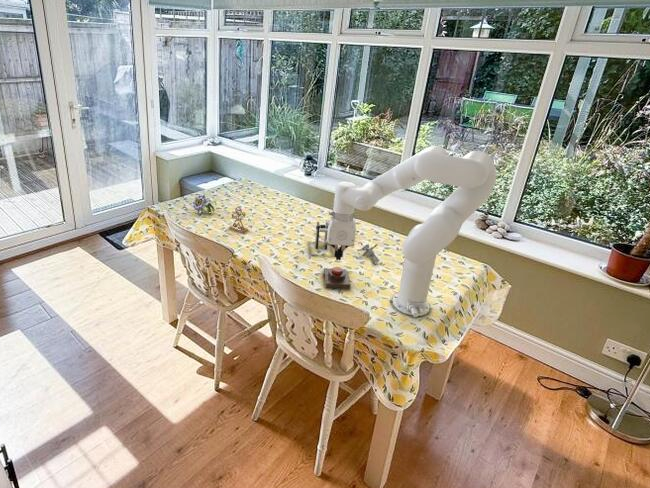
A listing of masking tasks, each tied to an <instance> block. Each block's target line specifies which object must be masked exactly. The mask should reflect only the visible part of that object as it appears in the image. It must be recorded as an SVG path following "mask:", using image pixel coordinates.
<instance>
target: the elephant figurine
mask: <svg viewBox="0 0 650 488" xmlns="http://www.w3.org/2000/svg"><path fill="white" fill-rule="evenodd" d="M378 245H379V244H378V243H376V244H375V245H374V246H372V247H370V244H369V243H367V244H366V245H363V247H361V249H360V250H361V251H362V252H363V253H362V254H361V256H365V255H366V256H367V258H369V259H370V260H371V262H373V264H374V265H377V264H378V263H377V262H380V261H381V259H379V258H378V256H377V255H376V254H375V252H374V251H373V250H374V249H375V248H376V247H377V246H378Z"/></svg>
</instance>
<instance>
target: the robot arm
mask: <svg viewBox="0 0 650 488" xmlns="http://www.w3.org/2000/svg"><path fill="white" fill-rule="evenodd" d="M425 180H426V181H429V182H433V183H438V184H444V185H448V186H454V187H457V188H455V189H454V190H453V192H452V193H451V194H450V195H449V196H447V197H446V198H445V199H444V200H443V201H442V202H441V203H440V204H439V205H438V206H436V207H435V208H434V209H433V210H432V211H431V212H430V214H429V215H428V218H427V219H426V220H425V221H424V222H423V223H419V224H416V225H415V226H413V228H412V229H410V231H409V233H408V234H407V236H406V238H405V240H404V241H403V243H402V246H401V251H402V252H401V253H402V255H403V257H404V259H403V266H402V271H401V277H400V282H399V287H398V293H396V294H394V296H393V297H392V305H393V306H394V307H395V309H396V310H398V311H399V312H401V313H403V314H405V315H409V316H413V318H417V317H421V316H425V315H427V314H428V313H429V312H430V307H431V305H430V304H429V302H428V301H427V300H428V295H429V290H430V285H431V282H432V276H433V272H434V268H435V264H436V263H435V262H436V259H437V255H438V254H440V253H441V252H442V251H443V250H445V248H447V247H448V246H449V245H450V244H451V243H452V242H454V240H455V239H456V238H457V237H458V235H459V233H460V231H461V228H462V226H463V224H464V223H465V222H466V221H467V219H468V218H470V217H471V216H472V215H473V214H475V212H476V211H477V210H478V209H479V208H481V206H482V205H483V204H484V203H485V202H486V201H487V200H488V199H489V197H490V195H491V194H492V192H493V190H494V188H495V185H496V181H497V168H496V165H495V163H494V160H493V158H492V157H491V156H490V154H489V153H487V152H485V151H483V150H473V151H470V152H467V153H465V155H463V157H458V156H452V155H449V153H448V152H447V150H446V149H445V148H443V147H442V146H440V145H430V146H427V147H426V148H423V149H422V150H421V151H419V152H417V153H415V154H414V155H412V156H410V157H409V158H406V159H405V160H403V161H401V162H400V163H398V164H396V165H395V166H394V167H392V168H390V169H389V170H387V171H386V172H383V173H382V174H380V175H378V176H377V177H375V178H373V179H371V180H370V181H368V182H366V183H365V184H364V185H363V186H361V187H360V188H358V187H357V185H356V184H355V183H354V182H350V181H340V182H337V184H336V185H335V189H334V199H333V209H332V210H331V211H328V216H330V218H329V221H328V223H329V225H328V230H327V239H326V242H325V243H326V245H327V246H330V247H332V248H333V249H334V252H333V257H334V258H335V261H341V260H342V258H343V256H344V252H345V250H346V249H348V248H350V247H354V246H355V243H356V231H357V226H356V219H355V218H354V216H355V210H356V209H357V210H359V211H363V212H365V211H367V212H368V211H369V210H371V209H372V208H373V207H374V206H375V205H376V204H377V203H378V202H379V201H380V200H382V199H383V198H385V197H387V196H388V195H391V194H392V193H394V192H396V191H398V190H408V189H411V188H413V187H414V186H416V185H418V184H420V183H421V182H423V181H425Z"/></svg>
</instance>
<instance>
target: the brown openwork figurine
mask: <svg viewBox="0 0 650 488" xmlns="http://www.w3.org/2000/svg"><path fill="white" fill-rule="evenodd" d="M234 214H235V215H234ZM241 216H242V217H241ZM245 217H246V212H244V211H243V210H242V208H241V207H240V206H237V207H235V208H234V212H233V213H232V214H231V218H232V219H233V220H235V221H234V222H233V224H232V225H233V226H234V225H235V226H234V227H237V226H240V227H238V229H241V230H238V229H235V228H232V227H230V226H228V229H229V230H232V231H235V232H237V233H238V232H239V233H241V234H245V233H247V232H248V231H249V229H248V228H246V227H244V224H243V222H242V219H245Z"/></svg>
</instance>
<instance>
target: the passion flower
mask: <svg viewBox="0 0 650 488" xmlns="http://www.w3.org/2000/svg"><path fill="white" fill-rule="evenodd" d="M206 197H207V194H206V193H203V194H201V195H198V196H196V197H195V198H194V200H193V201H192V203H191V204H190V206H191V207H192V206H193V208H194V211H195V210H197V211H195V214H202V212H203V209H204V210H206V209H207V213H208V214H209V215H212V213H213V212H215V207H214V206H213V205H212V203H214V204H215V206H217V205H218V204H217V201H216V200H213V201H212V202H209V201H210V198H208V197H207V198H206ZM209 212H211V213H209Z"/></svg>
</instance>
